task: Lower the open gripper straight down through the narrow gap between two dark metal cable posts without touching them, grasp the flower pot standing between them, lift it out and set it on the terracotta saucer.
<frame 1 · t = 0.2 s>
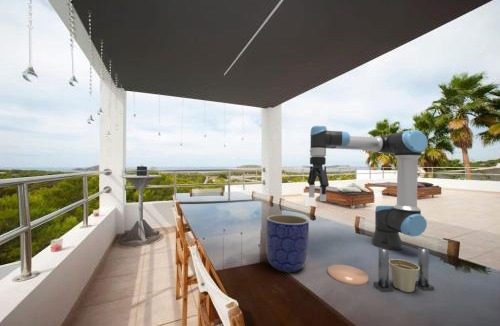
hand: (316, 199, 109), 28 cm above the table, fingers open, 13 cm apart
post 1: (383, 288, 79), on the table
post 2: (423, 287, 81), on the table
saucer: (347, 275, 88), on the table
planter: (286, 266, 95), on the table
flower pot: (403, 288, 80), on the table
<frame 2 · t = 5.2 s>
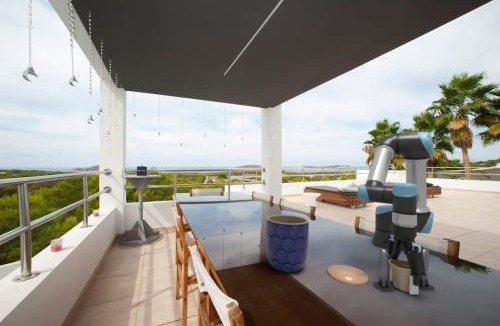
hand: (403, 286, 80), 0 cm above the table, fingers closed on flower pot, 8 cm apart
flower pot: (403, 288, 80), on the table, touching gripper
everything else where it was.
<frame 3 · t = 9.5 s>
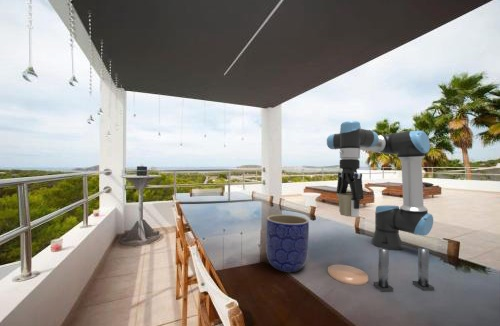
hand: (348, 214, 89), 25 cm above the table, fingers closed on flower pot, 8 cm apart
flower pot: (348, 215, 89), point 24 cm above the table, touching gripper
everything else where it was.
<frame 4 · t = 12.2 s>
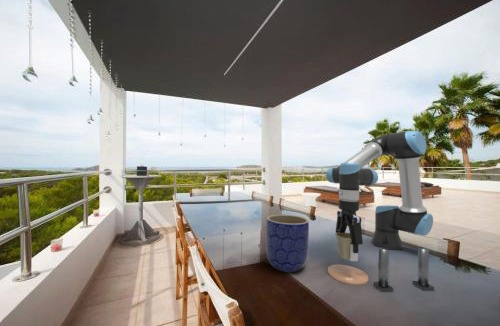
hand: (347, 256, 88), 8 cm above the table, fingers closed on flower pot, 8 cm apart
flower pot: (347, 257, 88), point 7 cm above the table, touching gripper
everything else where it was.
when the fingers open (3 cm above the table, at t = 13.9 s): flower pot drops 1 cm, resting on saucer.
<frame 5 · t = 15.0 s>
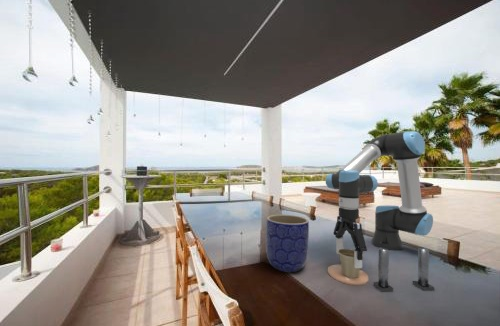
hand: (348, 260, 88), 6 cm above the table, fingers open, 13 cm apart
flower pot: (349, 275, 86), point 1 cm above the table, touching gripper, saucer
everything else where it was.
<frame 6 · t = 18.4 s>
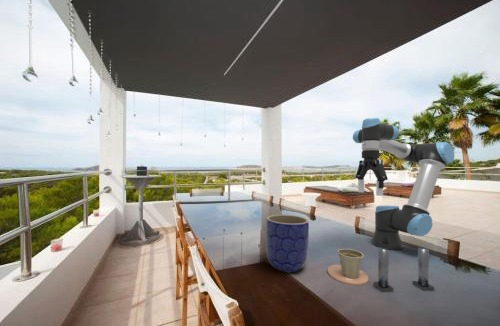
hand: (369, 194, 105), 32 cm above the table, fingers open, 13 cm apart
flower pot: (349, 275, 86), point 1 cm above the table, touching saucer
everything else where it was.
at the end: flower pot 1.7 cm from the saucer (horizontally); post 2 moved 0.0 cm from its start; post 1 moved 0.0 cm from its start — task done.
